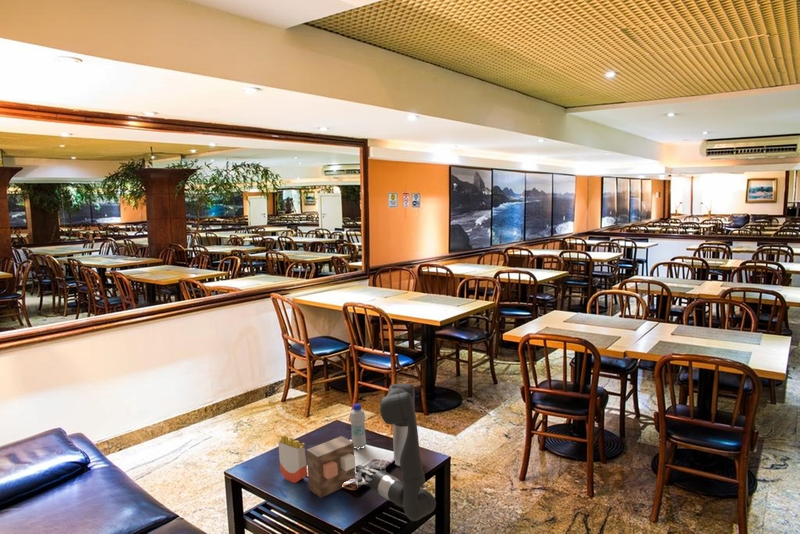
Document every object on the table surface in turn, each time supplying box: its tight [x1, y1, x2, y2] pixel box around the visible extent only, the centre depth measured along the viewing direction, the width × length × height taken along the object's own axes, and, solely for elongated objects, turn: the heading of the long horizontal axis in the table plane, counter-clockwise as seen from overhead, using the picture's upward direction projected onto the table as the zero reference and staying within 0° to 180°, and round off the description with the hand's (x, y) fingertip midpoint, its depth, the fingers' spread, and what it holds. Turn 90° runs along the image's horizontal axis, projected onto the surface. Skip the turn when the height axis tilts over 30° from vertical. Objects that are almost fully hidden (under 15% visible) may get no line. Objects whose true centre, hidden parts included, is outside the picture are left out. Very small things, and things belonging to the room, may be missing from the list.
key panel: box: [306, 435, 356, 499], centre depth 202 cm, size 16×8×16 cm, turn 131°
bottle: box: [349, 403, 367, 449], centre depth 232 cm, size 7×7×20 cm
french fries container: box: [277, 433, 308, 484], centre depth 208 cm, size 5×11×18 cm, turn 54°
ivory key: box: [340, 453, 356, 471], centre depth 200 cm, size 4×4×4 cm
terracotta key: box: [322, 460, 338, 479], centre depth 195 cm, size 4×4×4 cm
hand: (357, 467), depth 195 cm, fingers closed
